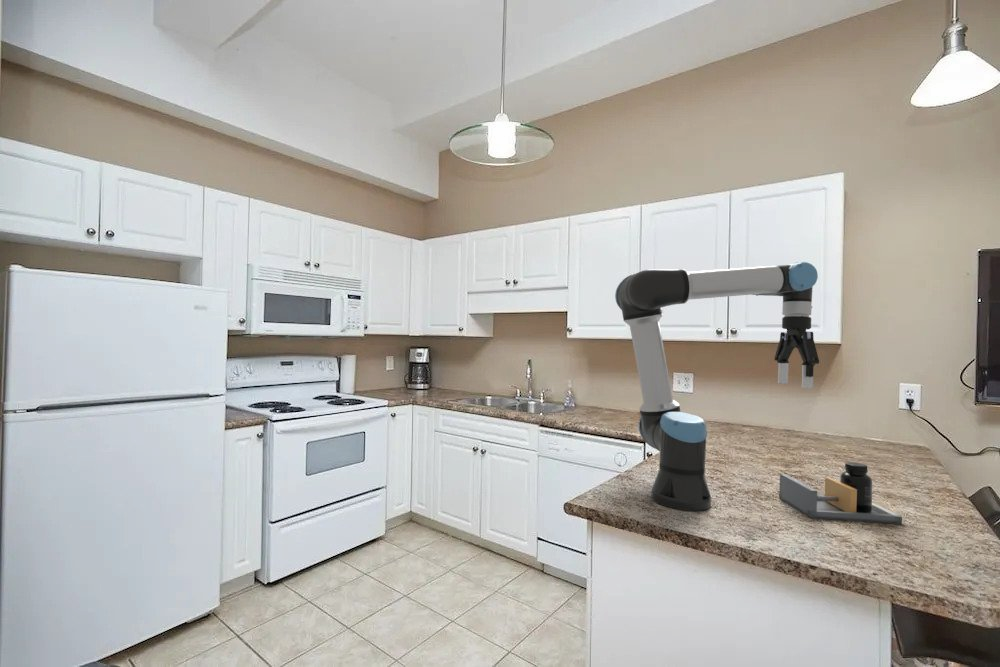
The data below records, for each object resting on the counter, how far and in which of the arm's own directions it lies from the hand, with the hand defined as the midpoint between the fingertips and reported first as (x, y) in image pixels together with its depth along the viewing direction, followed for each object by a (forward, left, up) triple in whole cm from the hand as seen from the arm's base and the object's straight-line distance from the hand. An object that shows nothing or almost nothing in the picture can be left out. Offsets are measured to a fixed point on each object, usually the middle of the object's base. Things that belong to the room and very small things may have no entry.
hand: (794, 385), depth 143 cm
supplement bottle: (+8, -17, -31) cm, 36 cm away
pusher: (+1, -17, -31) cm, 35 cm away
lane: (+3, -17, -32) cm, 36 cm away
